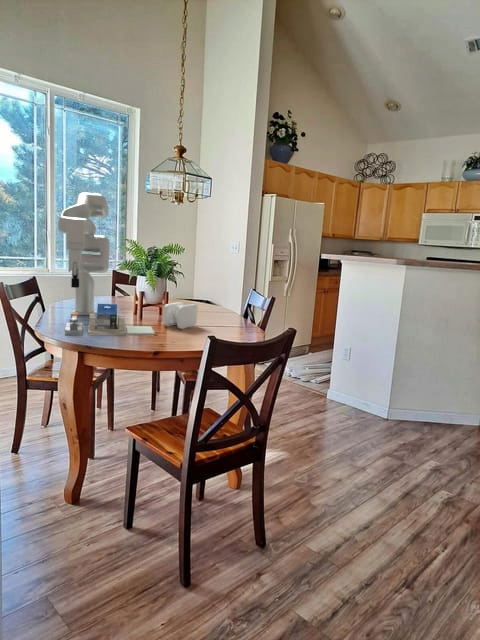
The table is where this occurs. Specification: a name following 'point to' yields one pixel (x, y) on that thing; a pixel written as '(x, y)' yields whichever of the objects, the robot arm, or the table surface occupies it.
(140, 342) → the table surface
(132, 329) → the tray
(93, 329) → the holder
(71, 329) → the base
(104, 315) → the blue box
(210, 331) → the table surface
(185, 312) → the cable organizer
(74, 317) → the lever
